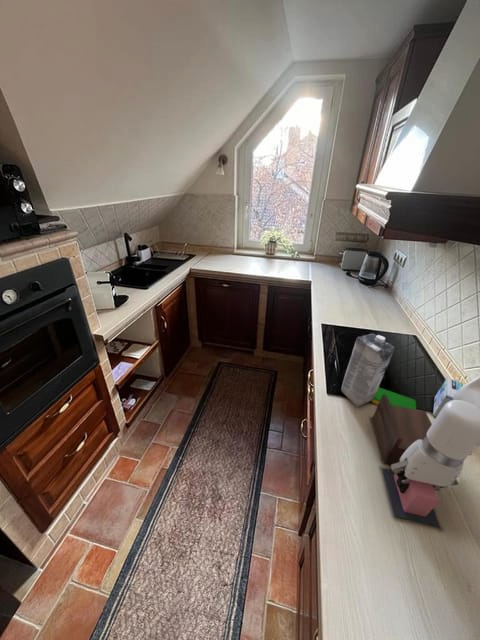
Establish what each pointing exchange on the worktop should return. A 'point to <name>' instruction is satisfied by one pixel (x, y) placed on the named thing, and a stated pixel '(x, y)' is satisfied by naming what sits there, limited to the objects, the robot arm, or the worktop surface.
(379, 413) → the walnut shelf
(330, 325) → the worktop surface
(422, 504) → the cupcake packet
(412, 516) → the slate mat
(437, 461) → the robot arm
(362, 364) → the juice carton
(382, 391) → the dish sponge
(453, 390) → the light bulb box
